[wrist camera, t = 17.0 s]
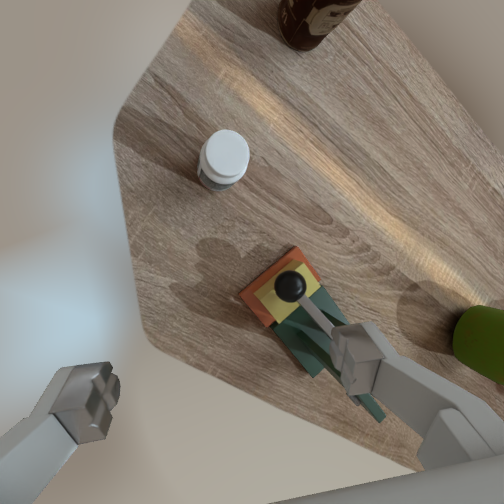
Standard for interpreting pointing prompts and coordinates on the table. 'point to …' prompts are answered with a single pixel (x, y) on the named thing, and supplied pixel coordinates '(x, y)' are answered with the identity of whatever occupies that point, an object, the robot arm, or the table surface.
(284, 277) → the blade lever
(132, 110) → the table surface
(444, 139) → the table surface
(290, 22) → the coffee cup
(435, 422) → the robot arm
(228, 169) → the pill bottle
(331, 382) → the table surface
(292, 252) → the butter
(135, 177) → the table surface
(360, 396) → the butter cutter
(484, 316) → the apple
